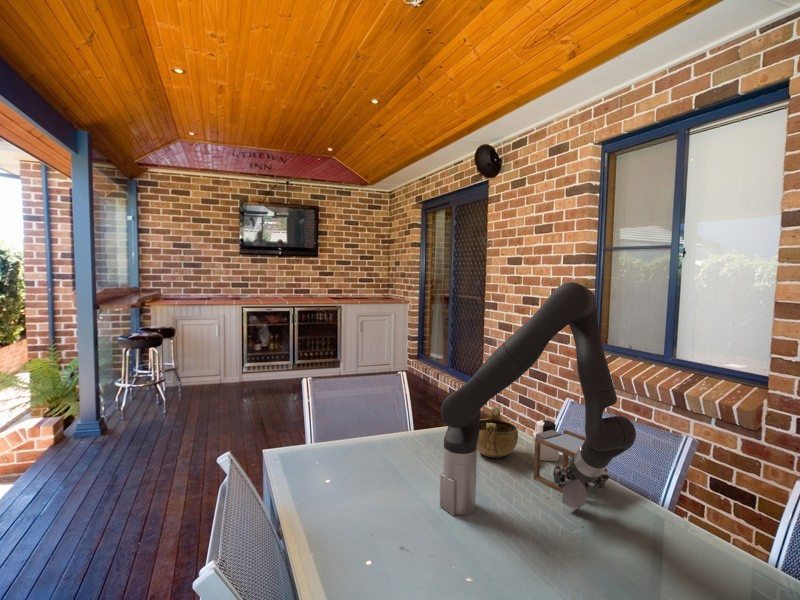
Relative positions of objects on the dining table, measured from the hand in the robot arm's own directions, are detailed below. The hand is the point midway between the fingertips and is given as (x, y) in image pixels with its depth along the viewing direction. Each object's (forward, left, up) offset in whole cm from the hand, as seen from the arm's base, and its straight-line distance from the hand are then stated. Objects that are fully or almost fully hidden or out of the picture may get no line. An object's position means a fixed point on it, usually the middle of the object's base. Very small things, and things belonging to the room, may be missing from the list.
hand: (572, 485), depth 128 cm
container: (+22, +29, -7) cm, 37 cm away
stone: (-1, -1, -4) cm, 5 cm away
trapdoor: (+12, +13, +5) cm, 19 cm away
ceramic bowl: (+7, +40, -7) cm, 41 cm away
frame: (+12, +11, -7) cm, 18 cm away
